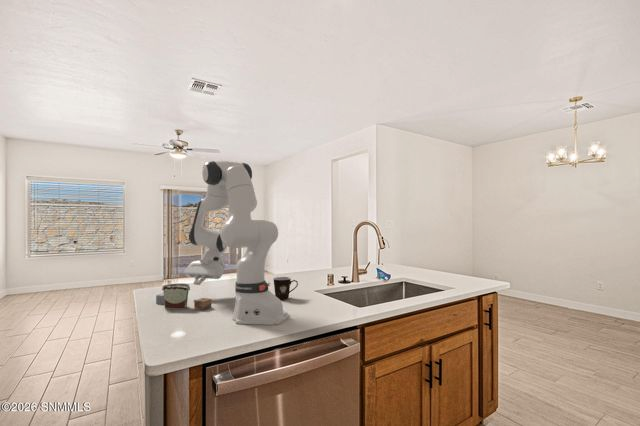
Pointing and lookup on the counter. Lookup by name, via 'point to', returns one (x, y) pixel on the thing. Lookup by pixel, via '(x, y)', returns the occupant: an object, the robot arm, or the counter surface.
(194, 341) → the counter surface
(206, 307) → the walnut block
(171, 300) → the food container
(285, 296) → the coffee mug
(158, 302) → the slate block
